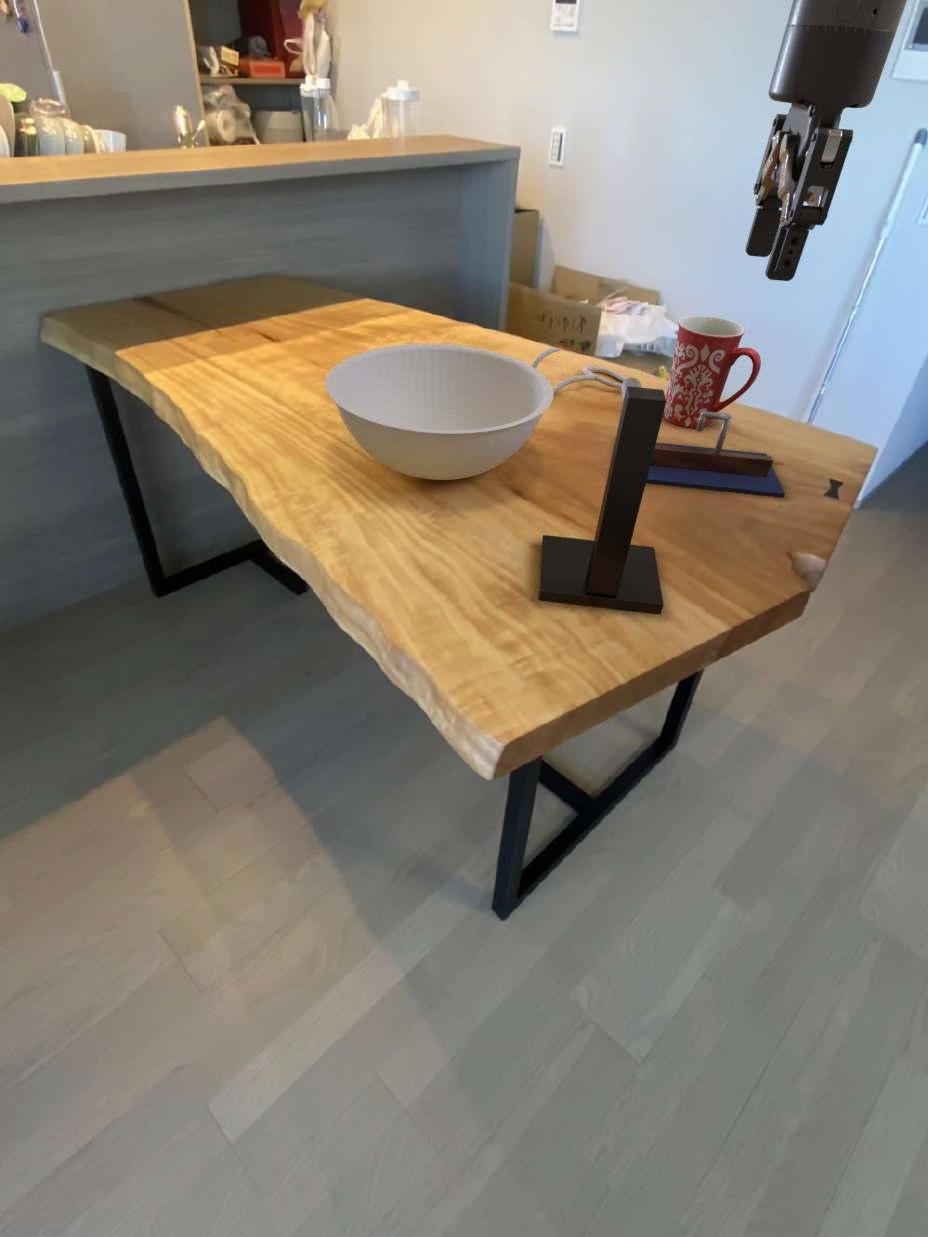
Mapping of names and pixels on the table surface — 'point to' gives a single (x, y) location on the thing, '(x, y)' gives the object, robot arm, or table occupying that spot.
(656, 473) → the mat
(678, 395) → the mug
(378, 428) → the bowl
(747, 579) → the table surface
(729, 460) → the hanger
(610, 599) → the coat stand
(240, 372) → the table surface
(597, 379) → the hook
